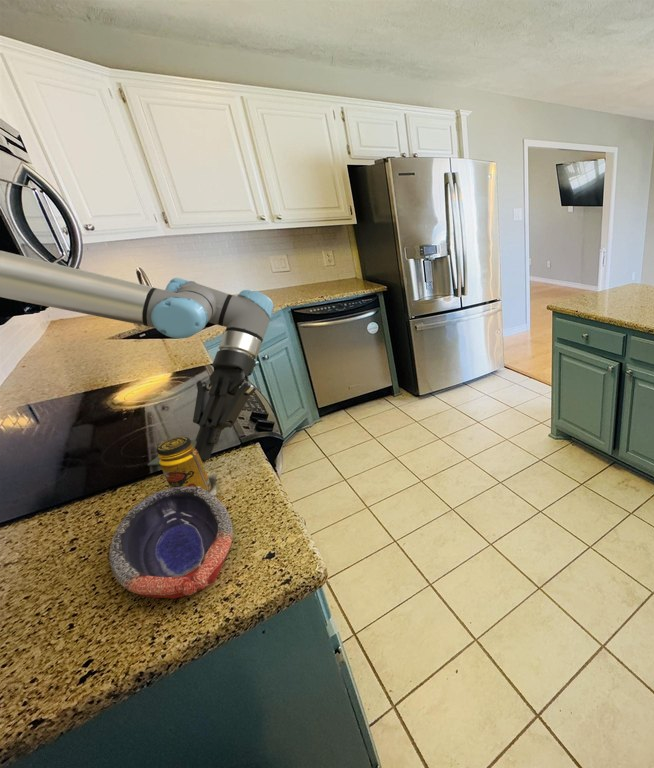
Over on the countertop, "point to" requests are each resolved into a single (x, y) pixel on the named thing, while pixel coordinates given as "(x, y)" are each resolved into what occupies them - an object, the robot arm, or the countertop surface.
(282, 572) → the countertop surface
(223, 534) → the dish
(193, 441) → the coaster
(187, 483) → the condiment
